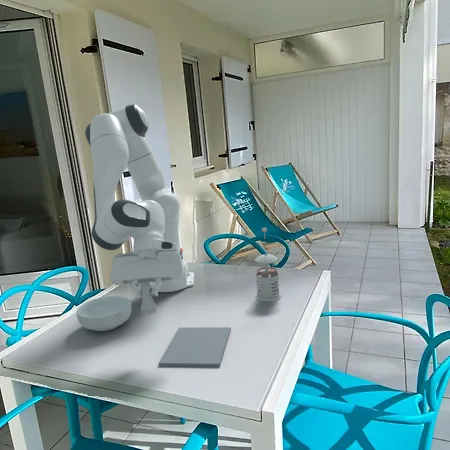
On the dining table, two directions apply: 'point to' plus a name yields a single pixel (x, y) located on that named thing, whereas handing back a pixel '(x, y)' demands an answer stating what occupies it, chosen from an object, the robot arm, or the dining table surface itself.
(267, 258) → the french press
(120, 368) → the dining table surface
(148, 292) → the rook chess piece
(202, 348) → the mat
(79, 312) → the cereal bowl
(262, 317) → the dining table surface
